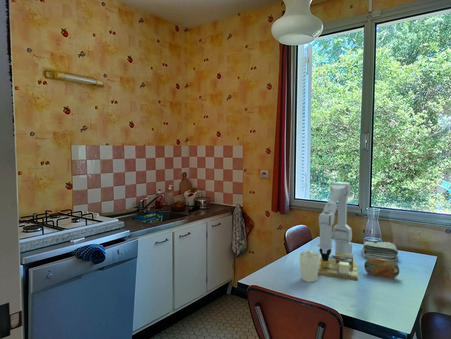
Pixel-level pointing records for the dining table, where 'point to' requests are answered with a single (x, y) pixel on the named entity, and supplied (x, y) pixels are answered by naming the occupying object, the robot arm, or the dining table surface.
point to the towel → (380, 250)
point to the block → (344, 267)
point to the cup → (309, 265)
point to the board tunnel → (336, 263)
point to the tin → (381, 268)
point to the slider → (326, 265)
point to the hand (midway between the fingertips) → (325, 263)
